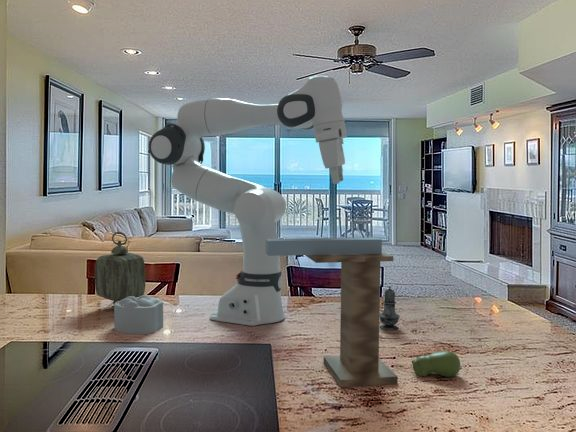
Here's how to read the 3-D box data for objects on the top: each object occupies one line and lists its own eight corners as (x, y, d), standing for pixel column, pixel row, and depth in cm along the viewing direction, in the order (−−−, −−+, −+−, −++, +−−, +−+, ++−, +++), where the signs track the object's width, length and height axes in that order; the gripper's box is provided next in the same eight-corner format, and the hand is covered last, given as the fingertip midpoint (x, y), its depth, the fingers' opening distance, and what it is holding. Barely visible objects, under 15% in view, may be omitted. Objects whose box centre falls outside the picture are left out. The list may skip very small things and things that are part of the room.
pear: (459, 355, 103) (410, 359, 105) (463, 380, 103) (414, 383, 106) (456, 346, 109) (409, 350, 111) (460, 370, 109) (413, 373, 111)
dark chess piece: (399, 331, 139) (400, 288, 138) (378, 330, 140) (379, 287, 139) (399, 325, 144) (400, 284, 144) (378, 324, 146) (379, 283, 145)
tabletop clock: (146, 309, 161) (145, 232, 160) (123, 315, 154) (121, 234, 152) (116, 303, 169) (115, 229, 167) (93, 309, 161) (91, 231, 160)
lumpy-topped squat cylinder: (150, 335, 134) (150, 303, 134) (106, 332, 137) (105, 300, 136) (166, 324, 144) (166, 294, 144) (125, 322, 147) (124, 292, 146)
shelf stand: (316, 389, 99) (317, 258, 98) (301, 364, 113) (302, 249, 111) (397, 383, 102) (400, 256, 101) (374, 360, 116) (375, 248, 114)
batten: (268, 255, 101) (268, 241, 101) (265, 253, 105) (265, 238, 105) (381, 253, 105) (381, 239, 105) (375, 251, 109) (375, 237, 109)
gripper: (324, 136, 152) (332, 181, 153) (313, 135, 132) (322, 187, 133) (345, 132, 150) (352, 178, 152) (337, 130, 130) (345, 183, 132)
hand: (338, 182), depth 142 cm, fingers open, 8 cm apart
